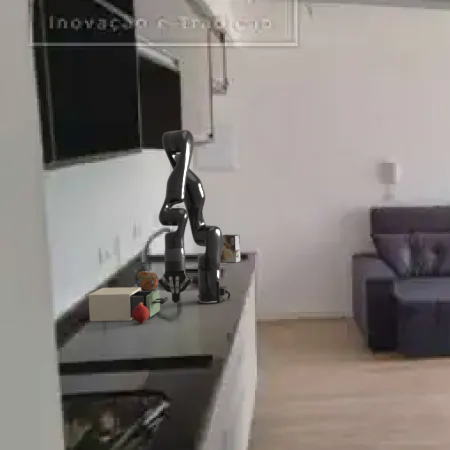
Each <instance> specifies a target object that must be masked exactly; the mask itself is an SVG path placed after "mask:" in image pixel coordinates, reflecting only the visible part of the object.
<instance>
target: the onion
mask: <svg viewBox="0 0 450 450" xmlns="http://www.w3.org/2000/svg"><path fill="white" fill-rule="evenodd" d="M149 314H150V313H149V310H148V308H147V307H145V306H144V305H143V303H142V302H141V303H139V305H138V306H137V307H135V309H134V310H133V312H132V316H133V321H135V322H137V323H138V324H144V323H145V322H146V321H147V320H148V319H149V318H148V317H149Z"/></svg>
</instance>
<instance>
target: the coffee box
mask: <svg viewBox="0 0 450 450" xmlns="http://www.w3.org/2000/svg"><path fill="white" fill-rule="evenodd" d="M240 237H241V235H240V234H226V233H225V234H222V255H221V260H222V261H221V263H239V262H241V239H240Z"/></svg>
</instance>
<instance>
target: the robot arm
mask: <svg viewBox="0 0 450 450" xmlns="http://www.w3.org/2000/svg"><path fill="white" fill-rule="evenodd" d="M161 140H162V141H161V142H162V147H163V149H164V152H165V154H166V157H167V159H168V162H169V164H170V166H171V168H172V171H171V173H170V174H169V175H168V178H167V180H166V185H165V186H166V187H165V196H164V200H163V203H162V205H161V207H160V210H159V213H158V221H159V223H160V224H161V226H163V227H176V229H175V230H174V231H169V232H166V233H165V234H164V256H163V259H164V274H163V277H161V278H160V279H158V284H160V286H161V287H162V288H163V289H164V290H165V291H166V292H167V293H171V301H172V302H173V304H178V303H179V302H180V301H181V293H183V292H184V291H185V290H186V289H187V288H188V287H189V285H191V283H192V281H193V278H191V277H189V276H188V274H187V271H186V250H185V232H186V227H187V225H188V222H189V226H190V231H191V236H192V239H193V242H194V243H195V244H196V245H197V246H199V247H203V248H204V247H205V250H204V251H205V252H204V253H203V254H199V255H198V257H197V274H198V275H197V276H198V295H197V298H198V303H200V304H205V305H206V304H208V305H209V304H210V305H211V304H219V303H221V302H222V301H223V299H224V296H226V295H227V298H226V299H228V300H230V298H231V292H229V290H228V286H227V285H223V278H222V268H221V260H222V235H223V233H222V229H221V228H220V227H219V226H217V225H210V224H209V225H208V224H207V223H206V221H205V218H204V214H203V213H204V212H203V211H204V206H205V202H206V192H205V189H204V185H203V182H202V180H201V178H200V177H199V176H198V175H197V174H196V173H195V172H194V171H193V170H192V169H191V168H190V166H191V162H192V158H193V154H194V149H195V137H194V134H193V133H192V132H191V131H190V130H187V129H180V130H170V131H166V132H164V133H163V134H162V137H161ZM182 203H183V204H184V207H185V208H184V207H174V206H175V205H179V204H182ZM183 282H184V284H183ZM182 284H183V286H182Z"/></svg>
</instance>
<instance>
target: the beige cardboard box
mask: <svg viewBox="0 0 450 450" xmlns="http://www.w3.org/2000/svg"><path fill="white" fill-rule="evenodd" d="M138 291H142V289H141V287H137V286H136V287H132V286H131V287H130V286H129V287H101V288H99V289H97V290H96V291H93V292H91V293H89V294H88V311H89V322H127V321H129V322H130V321H132V320H134V318H133V316H131V306H130V296H131V295H133V294H134V293H136V292H138Z"/></svg>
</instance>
